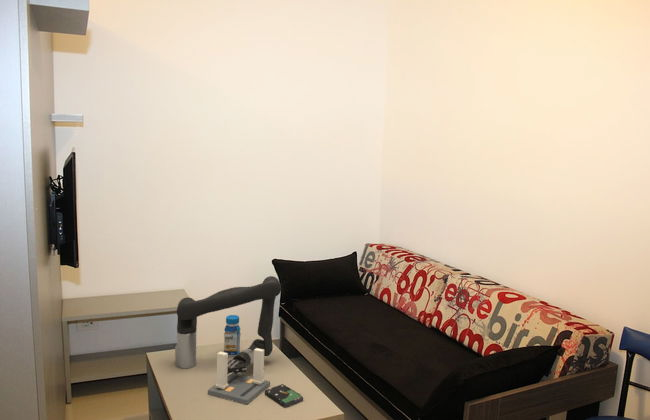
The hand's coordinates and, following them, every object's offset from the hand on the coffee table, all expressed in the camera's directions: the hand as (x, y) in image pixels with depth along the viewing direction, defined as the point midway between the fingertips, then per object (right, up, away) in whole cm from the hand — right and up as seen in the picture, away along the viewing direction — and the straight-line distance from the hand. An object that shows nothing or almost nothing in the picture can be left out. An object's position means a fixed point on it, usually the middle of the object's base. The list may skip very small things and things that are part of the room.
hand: (223, 373), depth 234 cm
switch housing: (+7, -8, +2) cm, 11 cm away
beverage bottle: (-4, -3, +41) cm, 41 cm away
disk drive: (+27, -10, -3) cm, 29 cm away
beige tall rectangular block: (+15, -6, +5) cm, 17 cm away
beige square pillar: (-1, -6, 0) cm, 6 cm away
